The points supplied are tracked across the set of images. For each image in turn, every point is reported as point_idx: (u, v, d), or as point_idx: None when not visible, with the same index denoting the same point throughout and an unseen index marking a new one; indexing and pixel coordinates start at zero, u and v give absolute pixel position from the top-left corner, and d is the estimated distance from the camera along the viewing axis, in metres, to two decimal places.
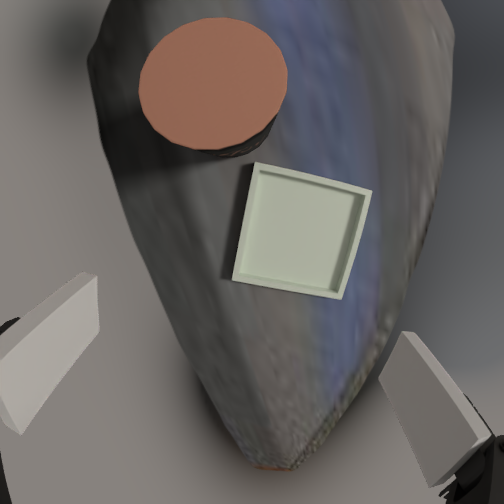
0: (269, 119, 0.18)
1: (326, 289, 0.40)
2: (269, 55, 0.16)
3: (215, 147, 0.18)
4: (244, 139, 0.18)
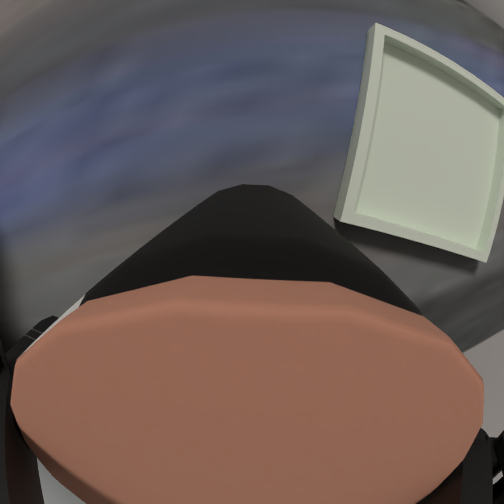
0: (467, 370, 0.03)
1: (501, 123, 0.16)
2: (105, 386, 0.03)
3: None
4: (481, 420, 0.03)
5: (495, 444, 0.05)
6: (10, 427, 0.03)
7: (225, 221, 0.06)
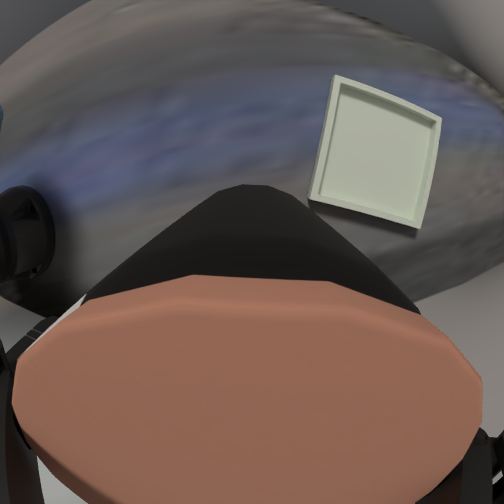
0: (466, 369, 0.03)
1: (432, 132, 0.30)
2: (106, 384, 0.03)
3: (457, 463, 0.04)
4: (480, 418, 0.03)
5: (495, 444, 0.05)
6: (10, 427, 0.03)
7: (225, 221, 0.06)
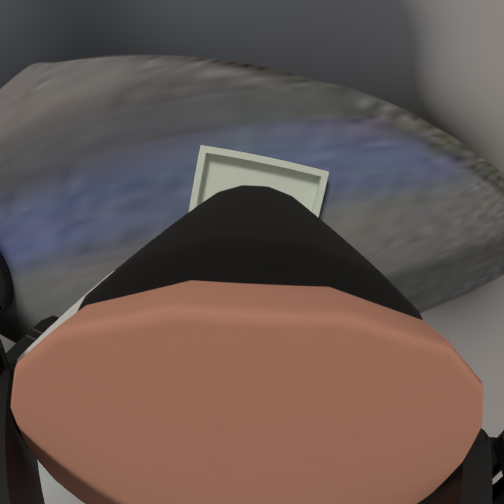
0: (466, 374, 0.03)
1: (317, 188, 0.34)
2: (104, 390, 0.03)
3: (457, 466, 0.04)
4: (480, 422, 0.03)
5: (495, 444, 0.05)
6: (10, 427, 0.03)
7: (224, 223, 0.06)
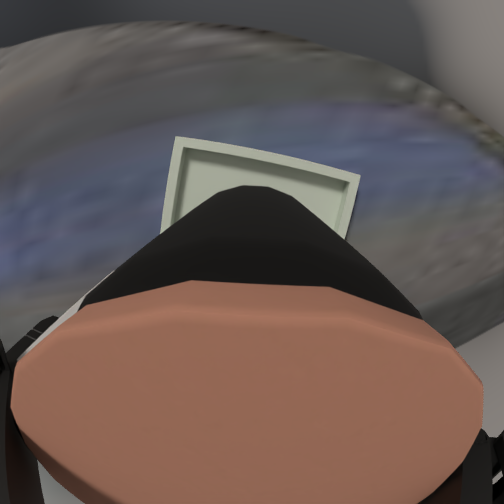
0: (467, 374, 0.03)
1: (342, 198, 0.24)
2: (104, 390, 0.03)
3: (457, 466, 0.04)
4: (480, 422, 0.03)
5: (495, 444, 0.05)
6: (10, 427, 0.03)
7: (224, 223, 0.06)
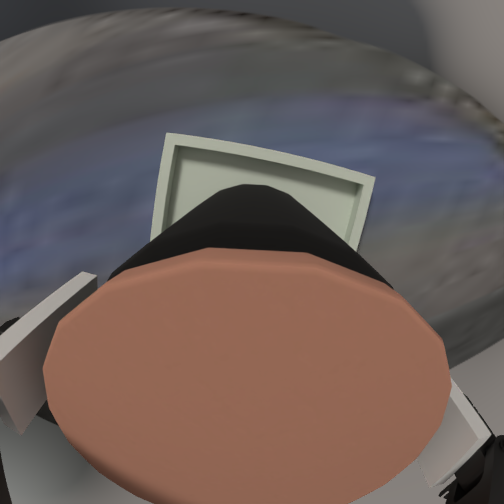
0: (423, 326, 0.04)
1: (355, 203, 0.21)
2: (139, 331, 0.04)
3: (436, 429, 0.05)
4: (449, 381, 0.05)
5: None
6: None
7: (229, 213, 0.08)
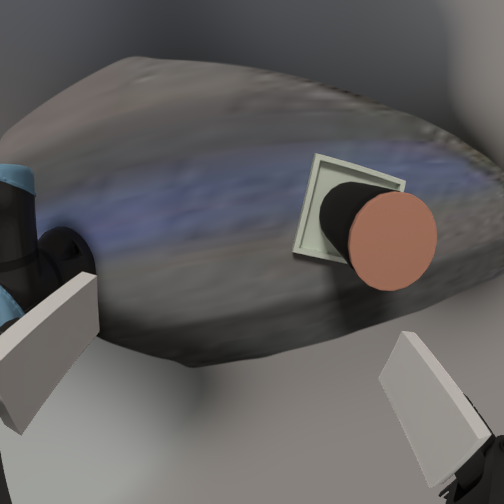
0: (426, 206, 0.26)
1: None
2: (387, 203, 0.26)
3: (436, 241, 0.27)
4: None
5: None
6: None
7: (383, 188, 0.29)
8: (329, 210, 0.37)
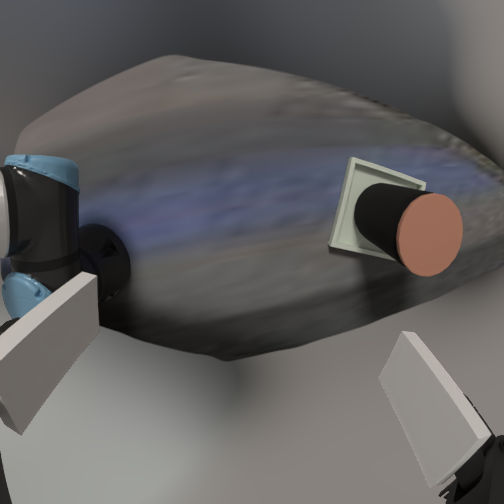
0: (455, 206, 0.29)
1: None
2: (427, 203, 0.29)
3: (462, 234, 0.30)
4: (461, 219, 0.30)
5: None
6: None
7: (419, 190, 0.33)
8: (368, 208, 0.40)
